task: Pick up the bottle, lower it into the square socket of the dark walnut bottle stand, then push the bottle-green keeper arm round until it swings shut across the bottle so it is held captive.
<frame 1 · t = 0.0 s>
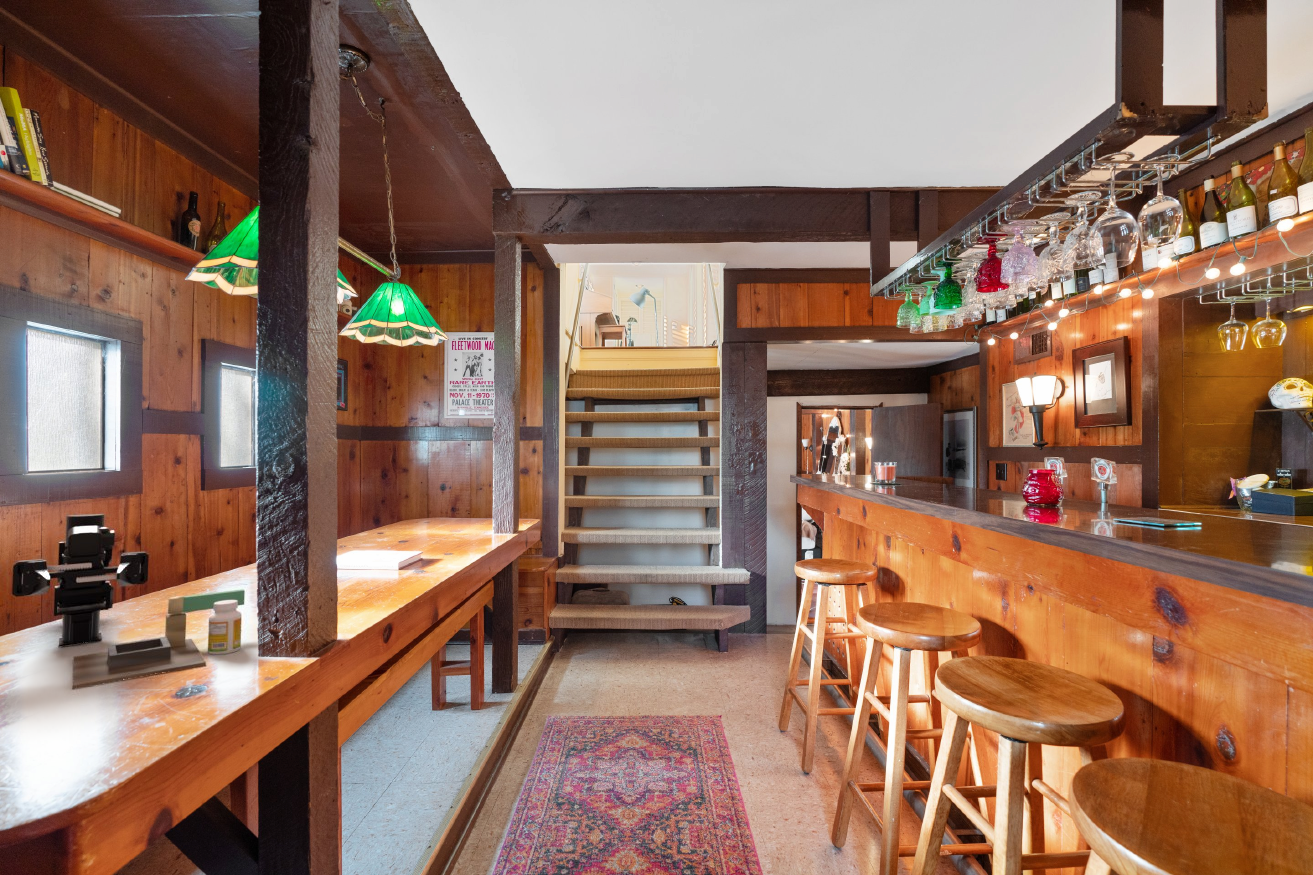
hand: (84, 579, 111), 17 cm above the table, tool horizontal, fingers open, 9 cm apart
bottle stand: (138, 662, 116), on the table
supplement bottle: (224, 651, 123), on the table
keeper arm: (207, 601, 129), point 8 cm above the table, hinge at 90.0°
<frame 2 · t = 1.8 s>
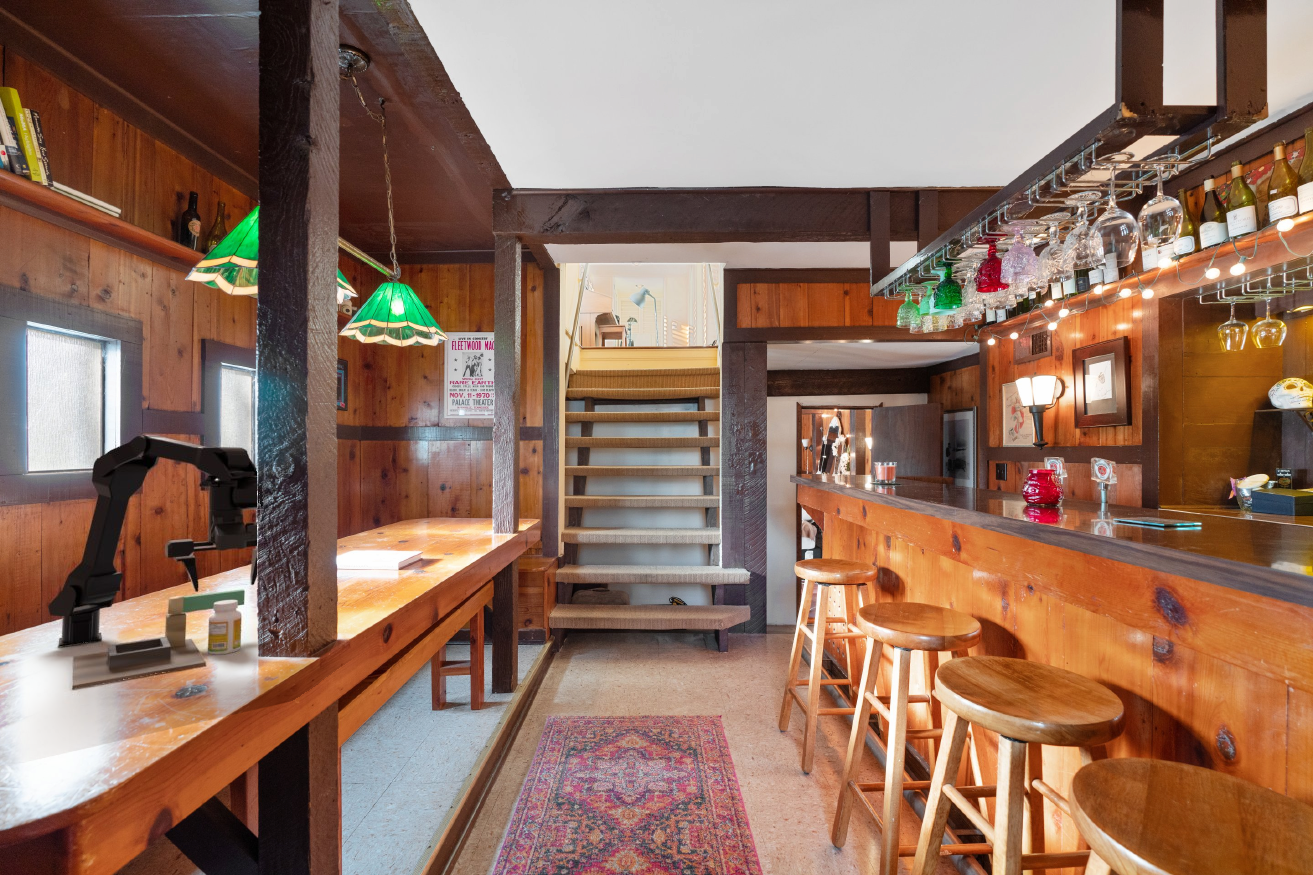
hand: (225, 587, 124), 12 cm above the table, tool pointing down, fingers open, 9 cm apart
nothing on the table moved.
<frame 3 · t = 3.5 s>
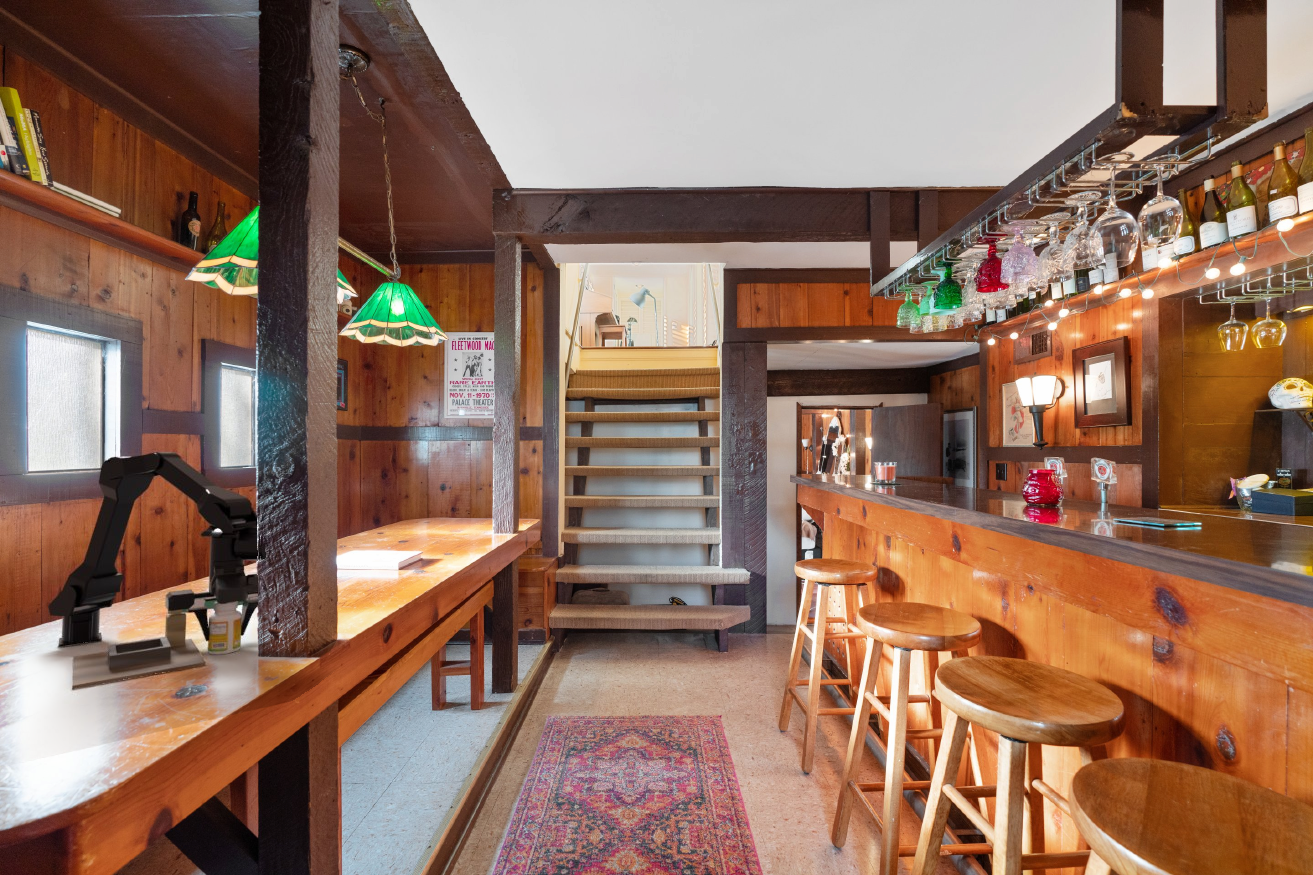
hand: (224, 637, 123), 3 cm above the table, tool pointing down, fingers closed on supplement bottle, 5 cm apart
supplement bottle: (224, 651, 123), on the table, touching gripper
everything else where it was.
when the fingers open (5 cm above the table, at t = 7.8 s): supplement bottle drops 1 cm, resting on bottle stand.
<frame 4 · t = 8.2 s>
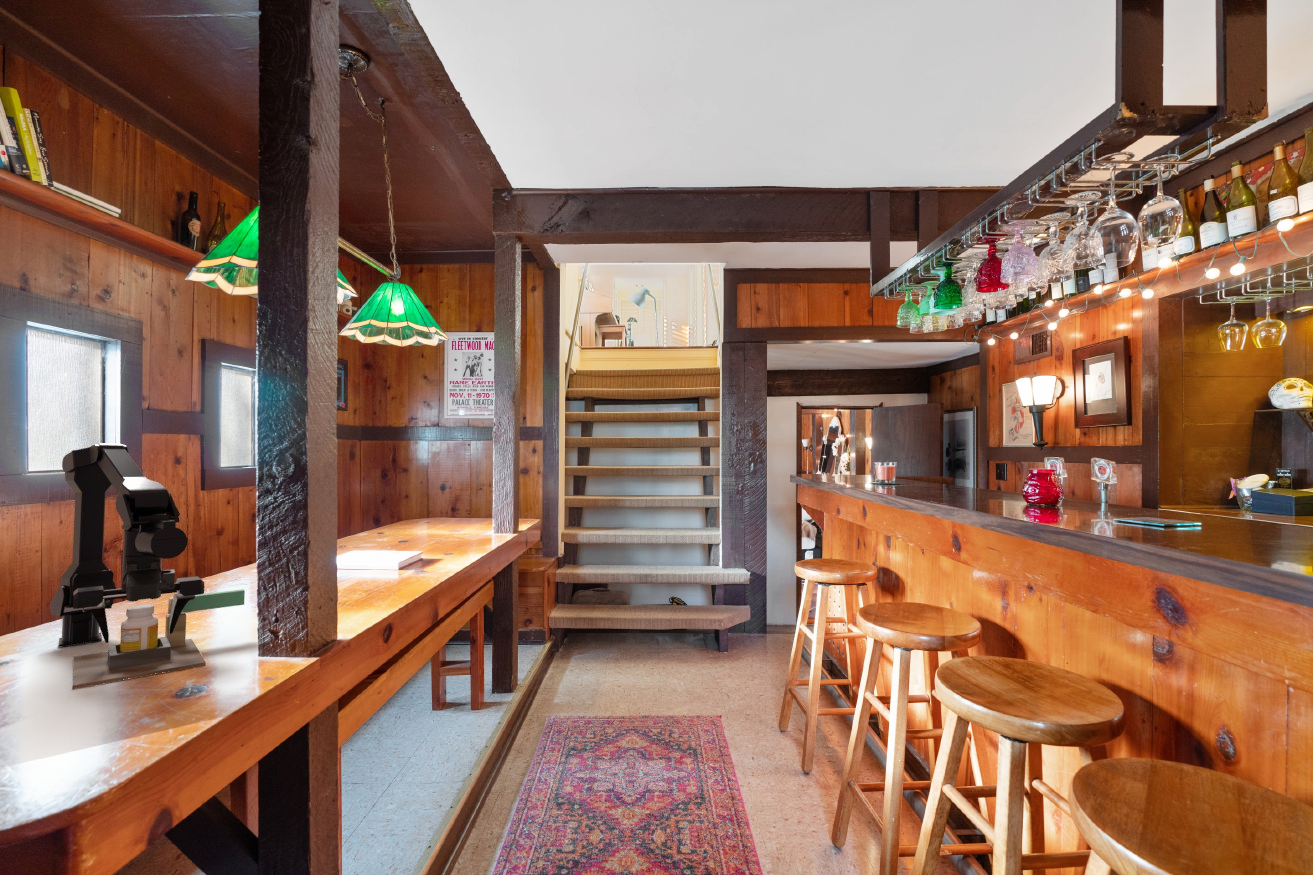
hand: (139, 637, 116), 5 cm above the table, tool pointing down, fingers open, 9 cm apart
supplement bottle: (138, 660, 116), resting on bottle stand
everything else where it was.
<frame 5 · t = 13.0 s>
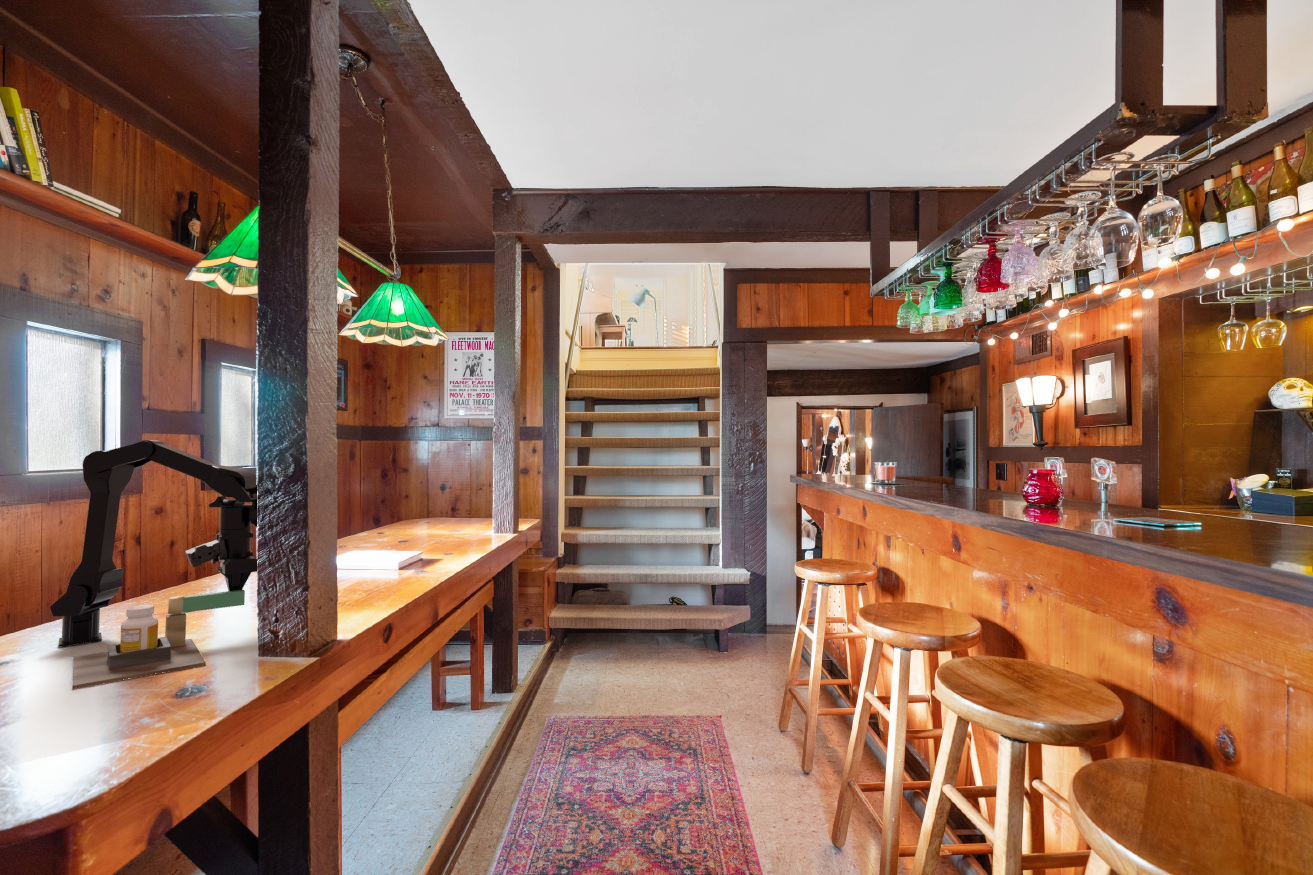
hand: (233, 600, 134), 8 cm above the table, tool pointing down, fingers closed
keeper arm: (207, 601, 129), point 8 cm above the table, hinge at 88.2°, touching gripper
everything else where it was.
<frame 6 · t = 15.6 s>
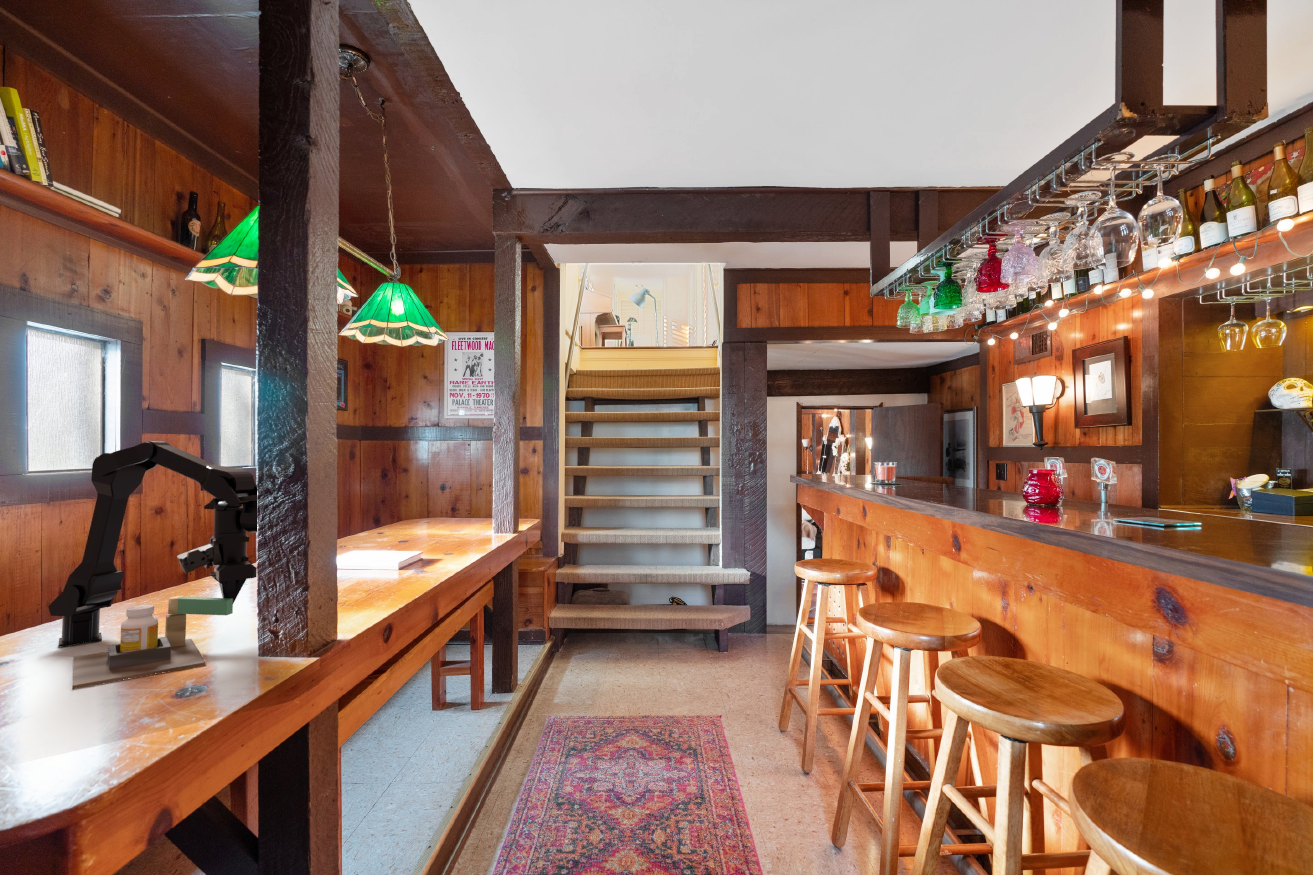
hand: (228, 607, 127), 8 cm above the table, tool pointing down, fingers closed
keeper arm: (199, 605, 125), point 8 cm above the table, hinge at 42.2°, touching gripper
everything else where it was.
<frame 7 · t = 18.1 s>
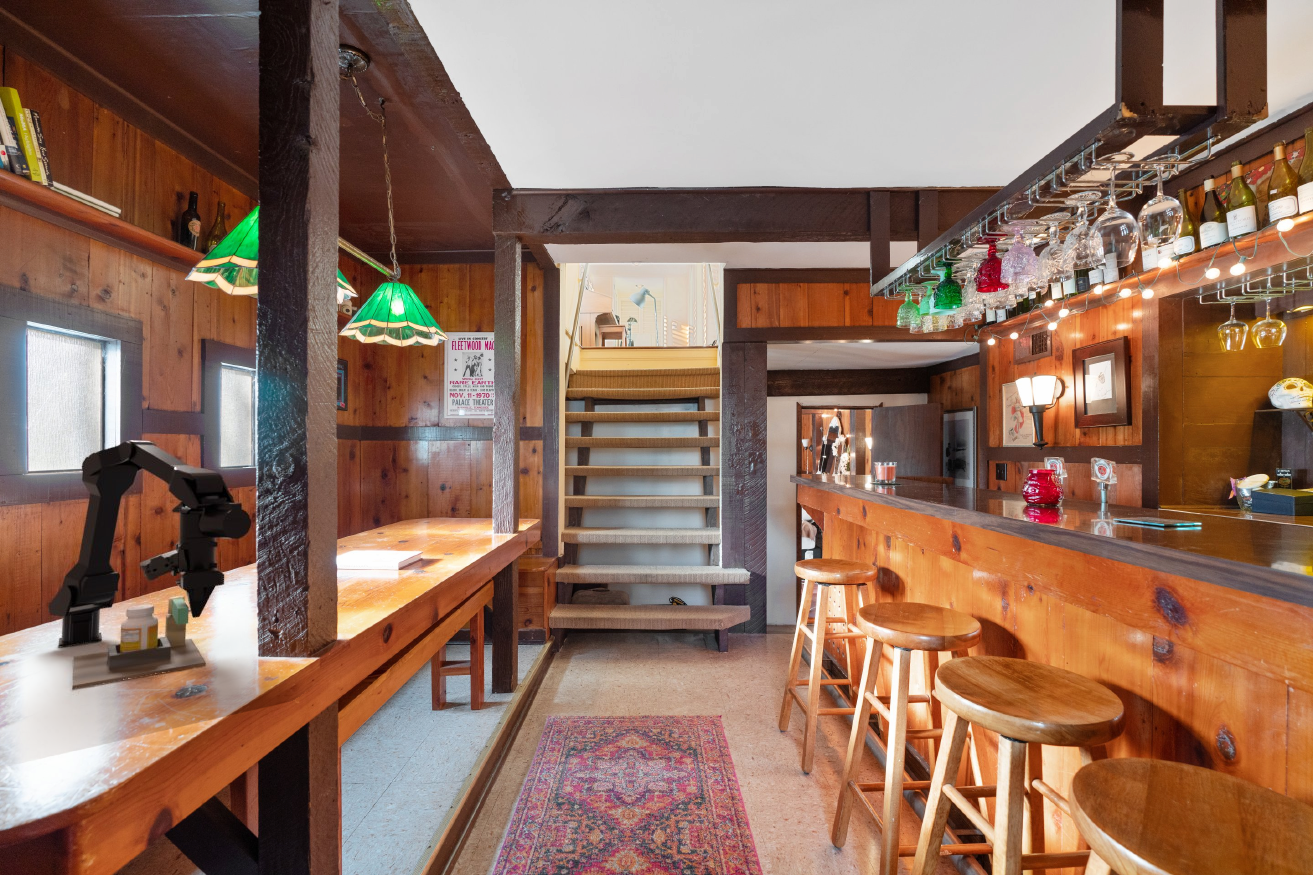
hand: (195, 617, 120), 8 cm above the table, tool pointing down, fingers closed, pressing on keeper arm
keeper arm: (179, 609, 122), point 8 cm above the table, hinge at -0.2°, touching gripper
everything else where it was.
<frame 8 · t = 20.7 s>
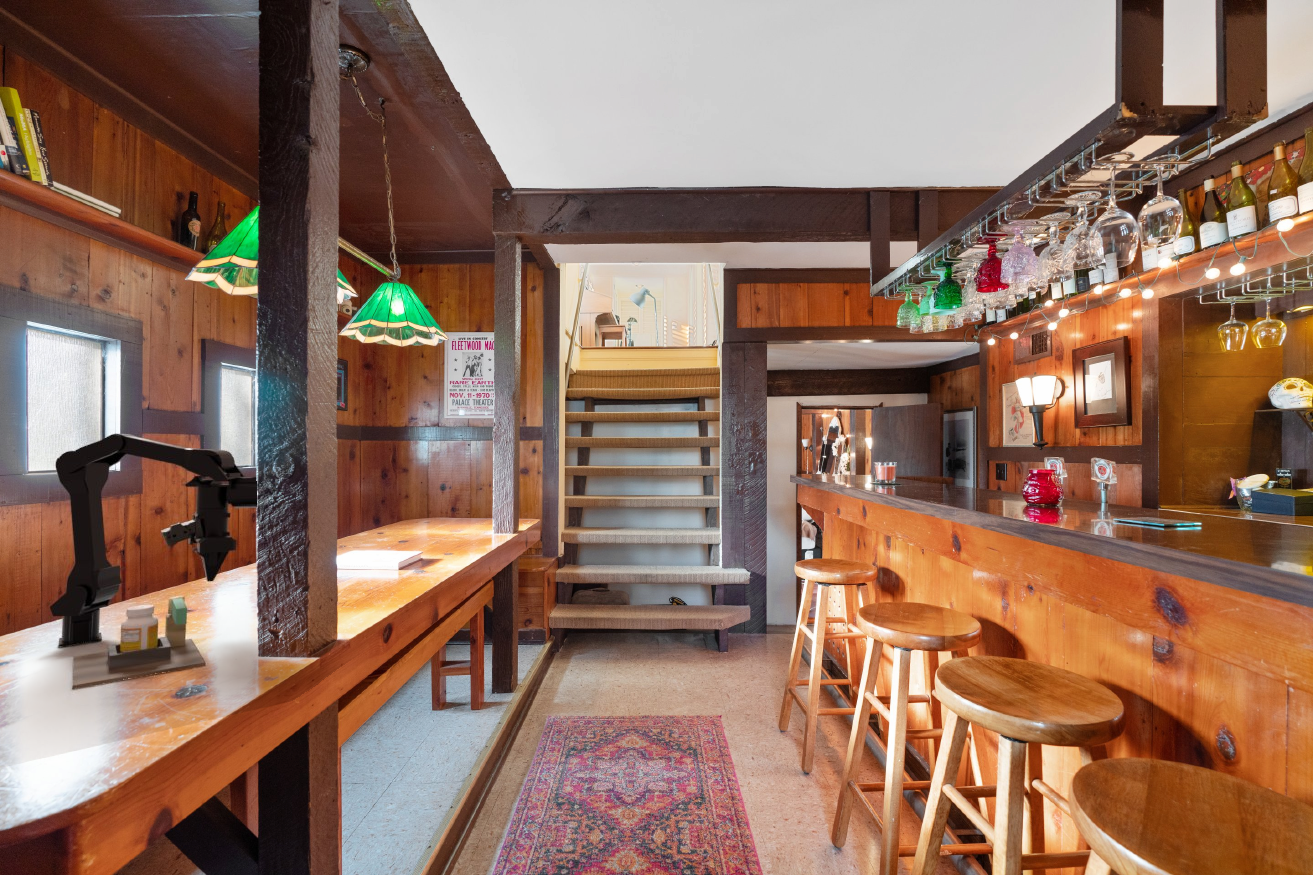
hand: (210, 581, 133), 12 cm above the table, tool pointing down, fingers closed
keeper arm: (178, 609, 122), point 8 cm above the table, hinge at -1.4°
everything else where it was.
at the end: supplement bottle 0.0 cm off-centre on the bottle stand, point 0.4 cm above the bottle stand's base; supplement bottle tilted 0°; keeper arm at -1° (first picture: +90°) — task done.
